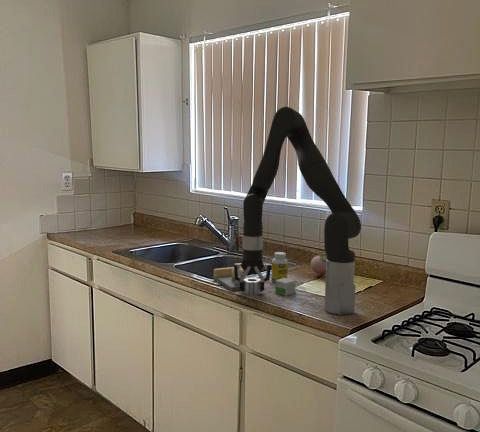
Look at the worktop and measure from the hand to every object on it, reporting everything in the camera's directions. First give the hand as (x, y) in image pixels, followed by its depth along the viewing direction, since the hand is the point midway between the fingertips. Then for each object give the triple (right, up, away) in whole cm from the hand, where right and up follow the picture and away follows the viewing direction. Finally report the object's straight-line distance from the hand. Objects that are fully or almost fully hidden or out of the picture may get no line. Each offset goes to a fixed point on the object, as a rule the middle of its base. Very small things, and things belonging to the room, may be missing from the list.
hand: (251, 291), depth 183 cm
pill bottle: (+12, +1, +18) cm, 21 cm away
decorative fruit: (+30, +2, +26) cm, 40 cm away
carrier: (-5, +1, +13) cm, 14 cm away
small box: (+13, -1, +2) cm, 13 cm away
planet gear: (0, -1, 0) cm, 1 cm away
